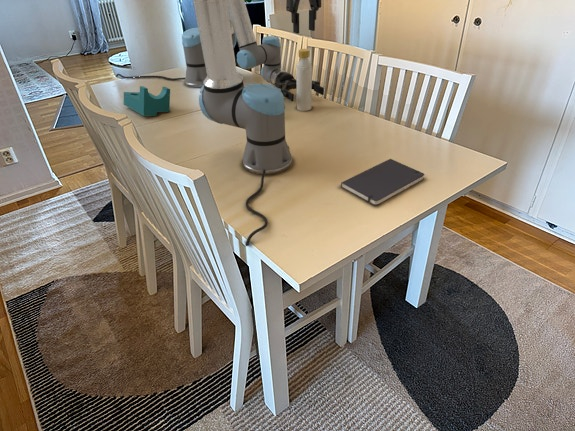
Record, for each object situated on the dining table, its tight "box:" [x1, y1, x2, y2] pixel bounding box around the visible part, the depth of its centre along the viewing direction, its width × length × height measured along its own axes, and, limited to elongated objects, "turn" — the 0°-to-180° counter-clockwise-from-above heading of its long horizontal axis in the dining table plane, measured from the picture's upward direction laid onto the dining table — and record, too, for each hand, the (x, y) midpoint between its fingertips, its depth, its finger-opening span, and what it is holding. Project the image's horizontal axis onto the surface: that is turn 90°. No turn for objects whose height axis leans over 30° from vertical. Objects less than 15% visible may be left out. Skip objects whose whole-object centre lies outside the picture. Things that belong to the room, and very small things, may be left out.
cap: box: [298, 48, 310, 59], centre depth 151 cm, size 4×4×2 cm
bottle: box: [295, 57, 313, 112], centre depth 157 cm, size 6×6×22 cm
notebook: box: [340, 158, 425, 206], centre depth 114 cm, size 13×2×21 cm
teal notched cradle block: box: [123, 85, 171, 117], centre depth 163 cm, size 18×11×10 cm, turn 43°
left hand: (308, 94), depth 158 cm, fingers open, 13 cm apart
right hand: (304, 31), depth 146 cm, fingers open, 6 cm apart
